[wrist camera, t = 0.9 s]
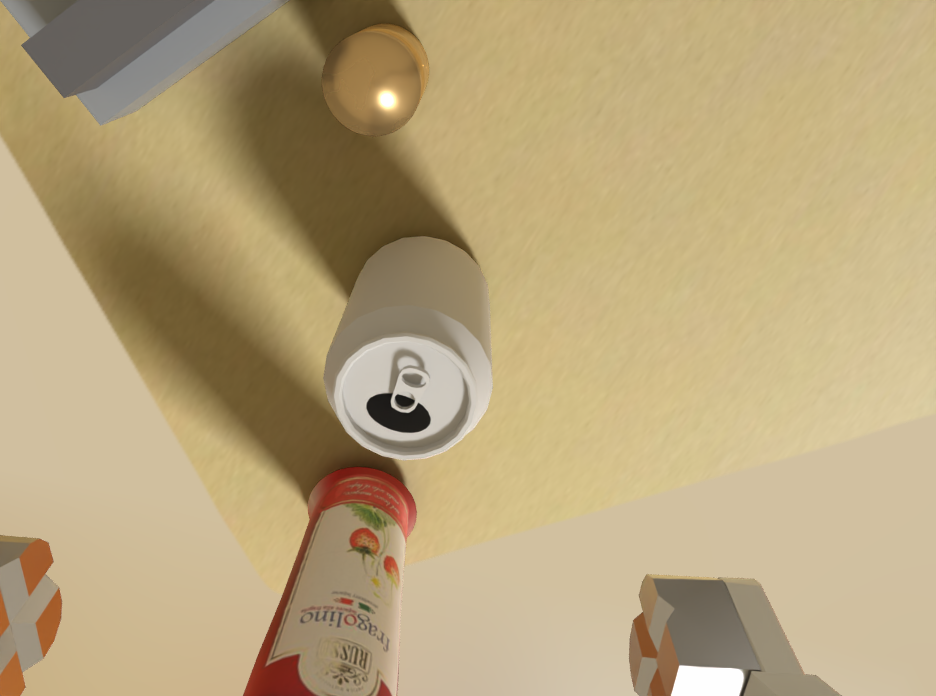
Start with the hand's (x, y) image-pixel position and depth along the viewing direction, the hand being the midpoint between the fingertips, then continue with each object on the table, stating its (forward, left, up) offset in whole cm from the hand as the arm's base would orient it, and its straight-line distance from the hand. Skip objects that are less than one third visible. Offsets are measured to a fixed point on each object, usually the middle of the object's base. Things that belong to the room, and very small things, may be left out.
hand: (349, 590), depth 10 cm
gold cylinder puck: (+1, -4, -32) cm, 32 cm away
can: (+6, +7, -32) cm, 33 cm away
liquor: (+17, +17, -32) cm, 40 cm away
